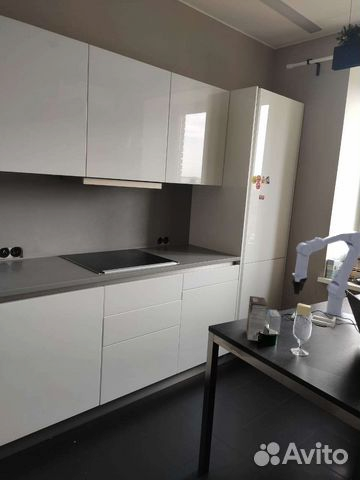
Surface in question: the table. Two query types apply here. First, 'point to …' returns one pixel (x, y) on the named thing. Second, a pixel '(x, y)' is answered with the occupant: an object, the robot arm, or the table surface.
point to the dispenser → (324, 320)
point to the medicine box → (274, 320)
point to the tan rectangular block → (303, 309)
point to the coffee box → (256, 317)
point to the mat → (294, 315)
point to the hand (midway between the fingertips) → (298, 292)
